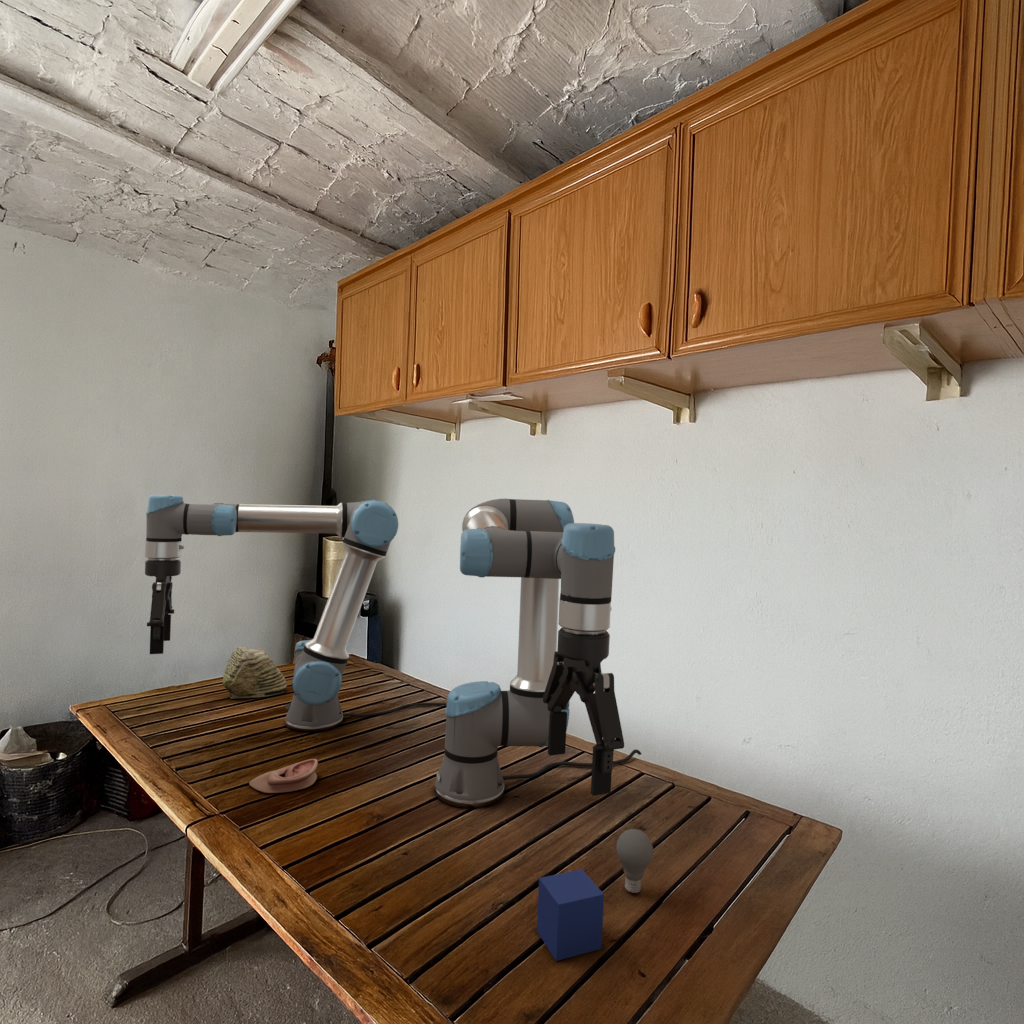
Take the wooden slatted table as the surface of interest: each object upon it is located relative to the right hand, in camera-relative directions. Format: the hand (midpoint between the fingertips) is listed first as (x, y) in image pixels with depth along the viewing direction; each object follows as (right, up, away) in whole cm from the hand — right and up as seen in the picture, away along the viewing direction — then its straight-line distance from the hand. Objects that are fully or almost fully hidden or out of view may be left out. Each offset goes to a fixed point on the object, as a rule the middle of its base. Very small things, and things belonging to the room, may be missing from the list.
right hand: (577, 772), depth 93 cm
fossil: (-90, -19, +105) cm, 140 cm away
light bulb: (+11, -25, +12) cm, 30 cm away
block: (-1, -25, 0) cm, 25 cm away
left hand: (-94, +6, +59) cm, 111 cm away
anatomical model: (-60, -21, +46) cm, 78 cm away
